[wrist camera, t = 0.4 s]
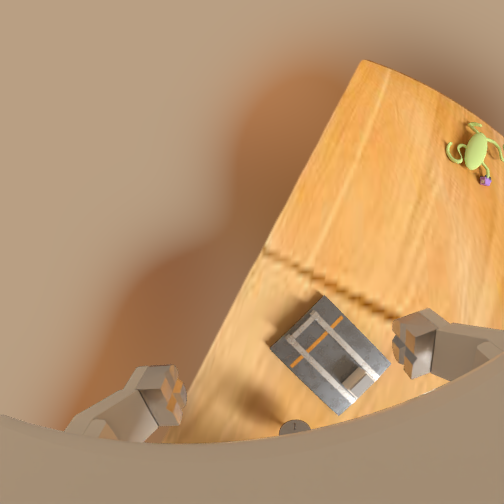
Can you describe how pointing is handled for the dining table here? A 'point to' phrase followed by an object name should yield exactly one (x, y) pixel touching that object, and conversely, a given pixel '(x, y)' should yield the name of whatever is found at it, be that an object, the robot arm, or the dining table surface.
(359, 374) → the fader tab
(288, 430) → the wine glass
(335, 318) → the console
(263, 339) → the dining table surface
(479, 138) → the figurine
